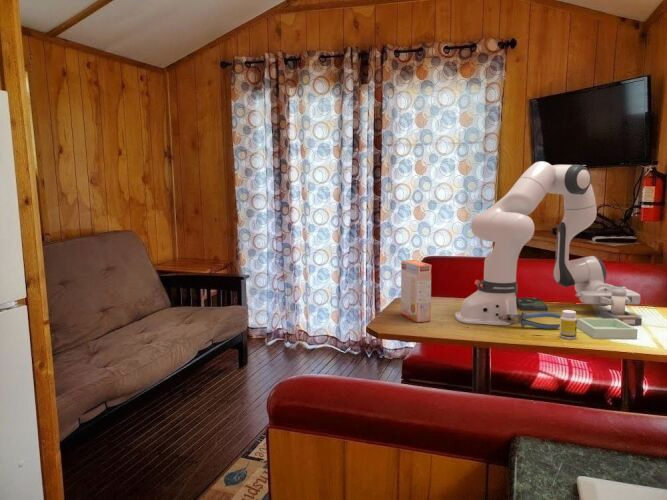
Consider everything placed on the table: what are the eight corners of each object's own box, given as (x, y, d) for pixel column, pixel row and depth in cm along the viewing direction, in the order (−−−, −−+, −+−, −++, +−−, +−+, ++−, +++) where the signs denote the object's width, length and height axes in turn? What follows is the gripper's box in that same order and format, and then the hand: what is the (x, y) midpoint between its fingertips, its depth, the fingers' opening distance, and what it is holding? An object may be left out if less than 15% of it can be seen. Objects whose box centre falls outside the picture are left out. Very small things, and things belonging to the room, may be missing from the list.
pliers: (498, 328, 171) (499, 311, 170) (497, 326, 173) (498, 309, 172) (560, 330, 167) (561, 313, 166) (559, 328, 169) (559, 311, 169)
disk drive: (511, 303, 209) (520, 311, 194) (511, 297, 209) (521, 304, 194) (536, 304, 208) (548, 312, 193) (537, 297, 208) (548, 304, 193)
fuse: (613, 321, 177) (615, 290, 176) (607, 318, 182) (609, 288, 181) (627, 321, 177) (629, 290, 176) (620, 318, 182) (622, 288, 180)
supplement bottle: (578, 339, 157) (579, 313, 156) (561, 338, 157) (563, 312, 156) (573, 335, 161) (575, 309, 160) (558, 334, 162) (559, 309, 161)
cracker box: (431, 321, 179) (432, 264, 177) (416, 323, 177) (416, 265, 175) (414, 312, 192) (415, 259, 190) (400, 314, 191) (400, 259, 188)
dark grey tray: (616, 325, 172) (616, 317, 172) (599, 316, 184) (600, 309, 184) (641, 325, 171) (641, 317, 171) (623, 316, 183) (623, 309, 183)
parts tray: (594, 338, 157) (594, 329, 157) (576, 327, 170) (577, 318, 170) (636, 338, 157) (637, 329, 156) (616, 327, 169) (616, 318, 169)
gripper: (573, 286, 192) (590, 293, 178) (628, 286, 191) (649, 293, 177) (573, 302, 193) (589, 310, 179) (627, 302, 191) (648, 311, 178)
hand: (619, 302), depth 178 cm, fingers closed on fuse, 4 cm apart
